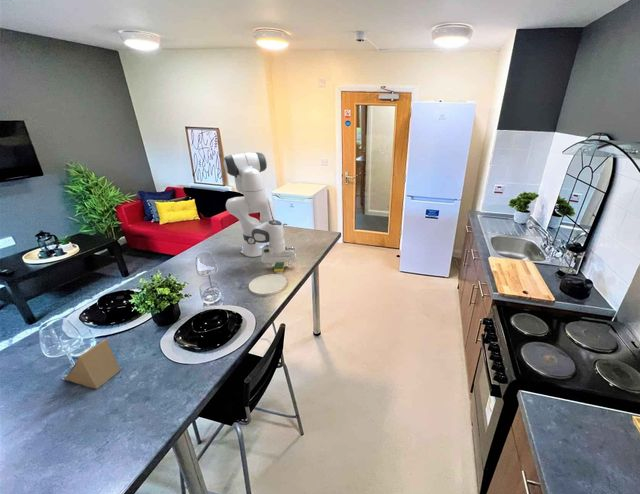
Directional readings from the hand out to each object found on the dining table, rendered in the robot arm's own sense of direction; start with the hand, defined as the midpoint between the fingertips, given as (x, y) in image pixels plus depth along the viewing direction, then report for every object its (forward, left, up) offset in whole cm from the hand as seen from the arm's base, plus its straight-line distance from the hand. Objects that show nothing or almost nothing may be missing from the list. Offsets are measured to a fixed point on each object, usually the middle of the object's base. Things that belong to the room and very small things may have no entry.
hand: (280, 267), depth 174 cm
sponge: (+1, 0, -1) cm, 1 cm away
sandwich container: (+71, -56, -2) cm, 91 cm away
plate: (+17, -4, -1) cm, 18 cm away
